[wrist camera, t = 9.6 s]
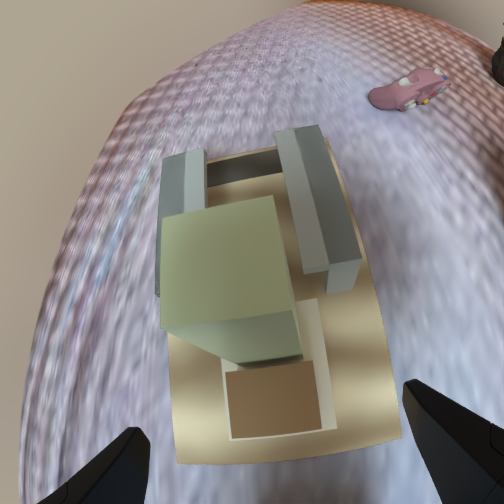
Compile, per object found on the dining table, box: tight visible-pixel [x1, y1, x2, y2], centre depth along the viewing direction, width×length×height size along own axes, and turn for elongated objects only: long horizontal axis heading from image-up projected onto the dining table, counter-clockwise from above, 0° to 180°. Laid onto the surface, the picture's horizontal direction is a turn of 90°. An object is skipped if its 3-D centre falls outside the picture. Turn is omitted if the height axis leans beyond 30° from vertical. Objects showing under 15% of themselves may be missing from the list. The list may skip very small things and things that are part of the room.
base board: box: [168, 138, 402, 465], centre depth 24 cm, size 27×16×1 cm, turn 6°
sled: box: [160, 195, 337, 441], centre depth 14 cm, size 9×7×13 cm
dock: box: [155, 125, 363, 297], centre depth 23 cm, size 12×13×6 cm
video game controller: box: [369, 68, 451, 112], centre depth 29 cm, size 10×5×7 cm, turn 116°
